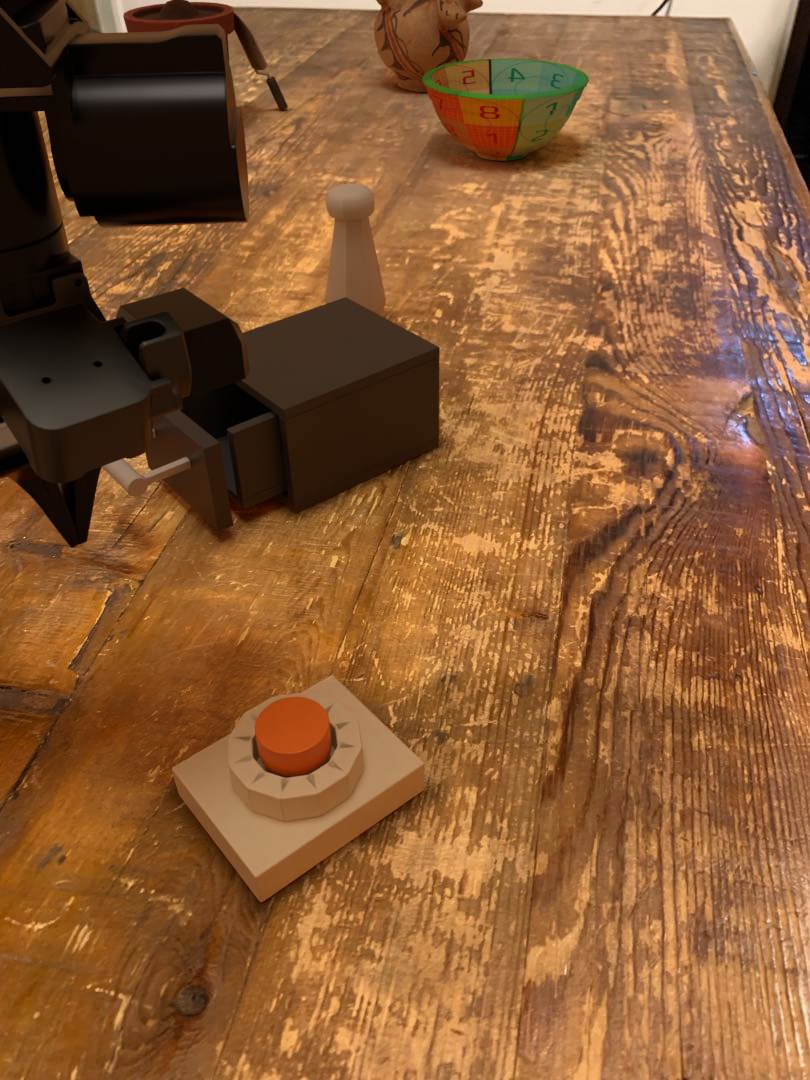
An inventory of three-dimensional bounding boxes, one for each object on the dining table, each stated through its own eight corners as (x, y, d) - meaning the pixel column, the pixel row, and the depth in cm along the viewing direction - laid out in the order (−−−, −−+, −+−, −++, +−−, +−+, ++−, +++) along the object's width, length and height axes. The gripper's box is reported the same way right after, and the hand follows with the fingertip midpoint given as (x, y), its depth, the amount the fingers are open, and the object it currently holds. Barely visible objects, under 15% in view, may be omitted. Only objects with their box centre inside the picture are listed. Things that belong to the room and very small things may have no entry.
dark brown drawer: (156, 561, 62) (136, 476, 58) (89, 491, 69) (67, 410, 65) (364, 465, 71) (359, 385, 66) (287, 411, 77) (278, 335, 73)
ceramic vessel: (464, 102, 155) (468, -80, 140) (352, 97, 158) (344, -80, 143) (481, 76, 169) (486, -92, 154) (377, 73, 172) (372, -92, 157)
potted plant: (154, 113, 153) (123, -70, 138) (288, 108, 154) (271, -74, 138) (135, 145, 140) (97, -54, 124) (282, 140, 140) (263, -59, 125)
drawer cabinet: (295, 513, 68) (283, 409, 62) (213, 446, 75) (196, 348, 69) (439, 446, 74) (439, 347, 69) (351, 390, 81) (345, 296, 76)
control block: (260, 904, 44) (250, 854, 41) (177, 794, 49) (164, 744, 46) (425, 790, 49) (424, 739, 46) (334, 700, 54) (330, 650, 51)
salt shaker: (315, 321, 92) (303, 186, 84) (363, 305, 95) (356, 172, 87) (349, 342, 88) (341, 203, 80) (398, 325, 91) (394, 188, 83)
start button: (284, 789, 45) (281, 766, 44) (244, 743, 47) (240, 720, 46) (346, 750, 46) (344, 727, 45) (304, 708, 49) (301, 684, 48)
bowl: (591, 177, 124) (600, 95, 118) (422, 179, 125) (421, 98, 119) (571, 129, 142) (578, 56, 136) (422, 131, 142) (422, 58, 136)
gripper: (-238, 381, 27) (-68, 733, 37) (301, 232, 36) (324, 547, 46) (-299, 263, 34) (-143, 587, 44) (167, 163, 43) (211, 450, 53)
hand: (75, 541), depth 47 cm, fingers closed
